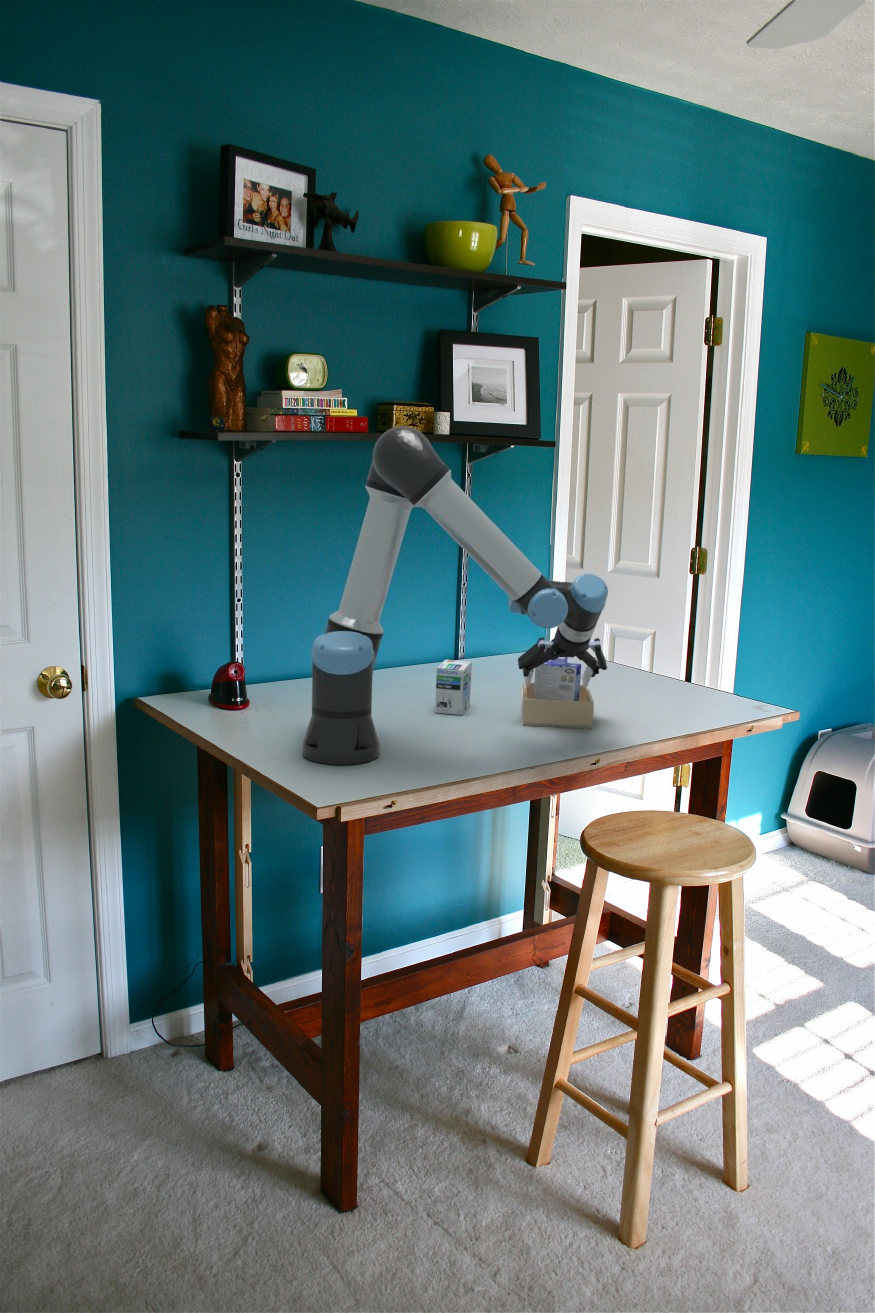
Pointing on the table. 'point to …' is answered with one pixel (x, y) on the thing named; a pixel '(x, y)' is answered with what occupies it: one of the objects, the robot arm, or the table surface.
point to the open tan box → (557, 710)
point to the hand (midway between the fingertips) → (555, 682)
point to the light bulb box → (453, 687)
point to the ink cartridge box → (557, 680)
